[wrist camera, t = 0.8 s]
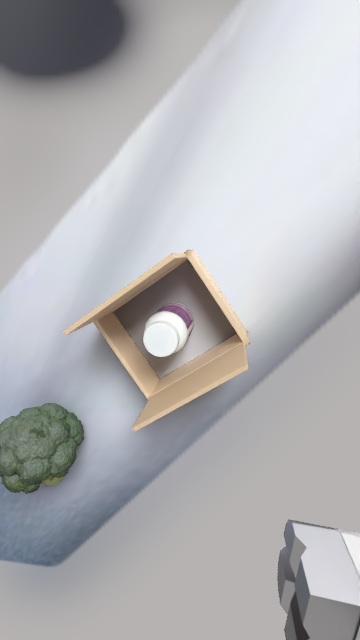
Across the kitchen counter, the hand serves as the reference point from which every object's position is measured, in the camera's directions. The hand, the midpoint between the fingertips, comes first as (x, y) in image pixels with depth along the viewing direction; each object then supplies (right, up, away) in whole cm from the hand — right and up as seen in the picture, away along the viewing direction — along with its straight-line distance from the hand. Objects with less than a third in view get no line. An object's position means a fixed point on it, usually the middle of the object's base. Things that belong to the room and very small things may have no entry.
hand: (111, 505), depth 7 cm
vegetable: (-18, -14, +44) cm, 49 cm away
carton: (+1, +4, +36) cm, 36 cm away
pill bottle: (+1, +4, +36) cm, 36 cm away
